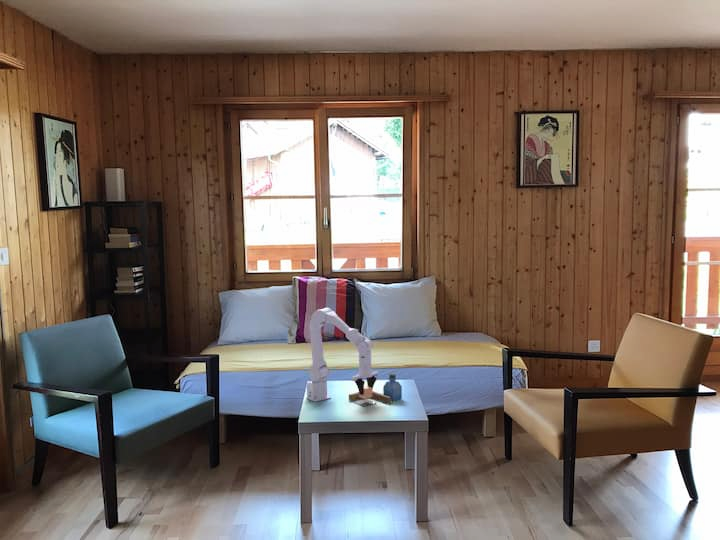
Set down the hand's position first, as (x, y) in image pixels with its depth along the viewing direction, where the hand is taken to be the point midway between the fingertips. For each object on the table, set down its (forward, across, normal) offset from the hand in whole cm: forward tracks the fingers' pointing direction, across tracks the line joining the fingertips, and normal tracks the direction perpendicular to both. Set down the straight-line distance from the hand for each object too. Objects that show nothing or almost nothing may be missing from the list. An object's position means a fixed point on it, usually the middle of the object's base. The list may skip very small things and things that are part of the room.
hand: (365, 393), depth 292 cm
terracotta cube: (+2, 0, 0) cm, 2 cm away
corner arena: (+5, +2, +1) cm, 5 cm away
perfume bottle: (+5, +14, -3) cm, 15 cm away
